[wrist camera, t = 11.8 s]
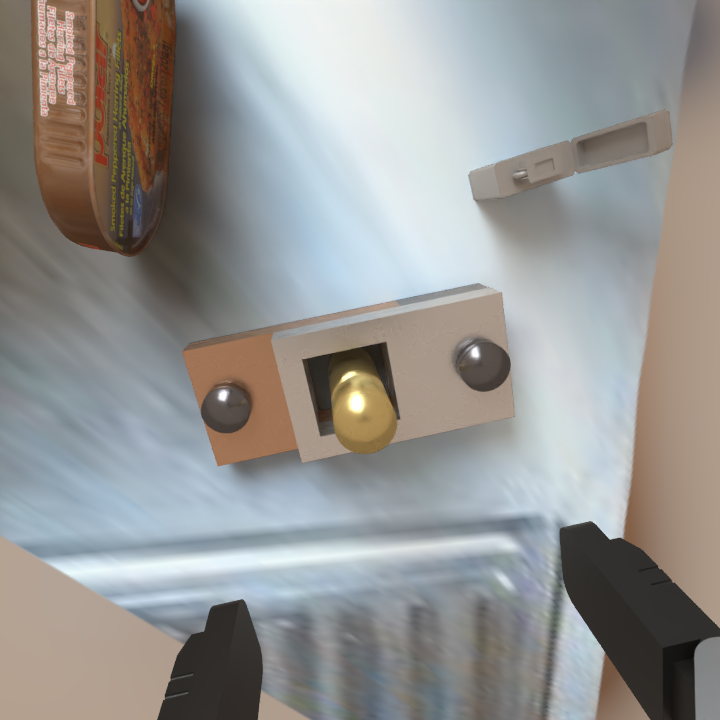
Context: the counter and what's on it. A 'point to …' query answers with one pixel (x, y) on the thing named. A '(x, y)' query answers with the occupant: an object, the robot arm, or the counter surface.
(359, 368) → the pin
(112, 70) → the tin
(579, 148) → the lighter
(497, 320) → the door latch
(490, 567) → the counter surface
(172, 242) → the counter surface
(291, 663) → the counter surface
